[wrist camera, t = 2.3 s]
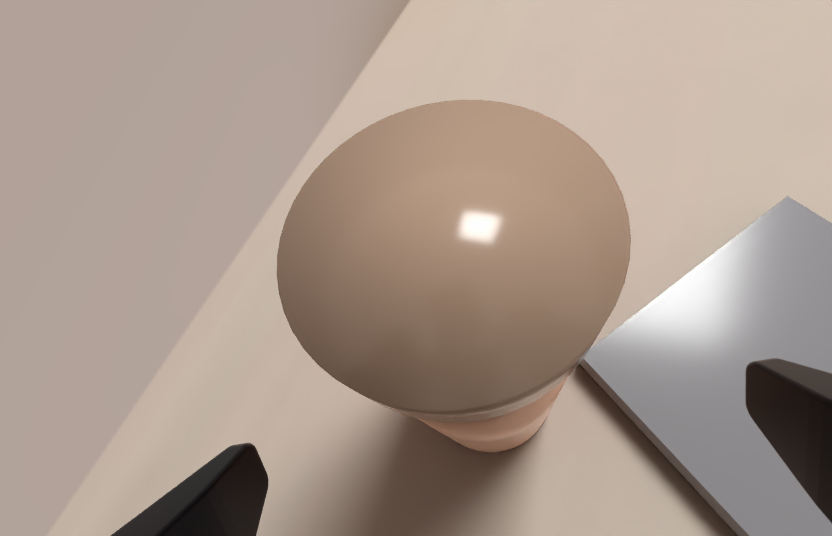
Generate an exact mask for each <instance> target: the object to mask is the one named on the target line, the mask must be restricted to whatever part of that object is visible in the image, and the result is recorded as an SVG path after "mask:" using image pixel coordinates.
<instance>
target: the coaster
mask: <svg viewBox="0 0 832 536" xmlns="http://www.w3.org/2000/svg"><path fill="white" fill-rule="evenodd" d="M770 358H779V359H783V360H787V361H790V362H794V363H797V364H801V365H804V366H808V367H811V368H815V369H818V370H822V371H825V372H829V373H832V223H830V222H829V221H827V220H825V219H824V218H822V217H821V216H819V215H817V214H816V213H814V212H812V211H811V210H809V209H808V208H806V207H804V206H803V205H801V204H800V203H798V202H796V201H795V200H793V199H791V198H790V197H788V196H787V197H786V198H784V199H783V200H782V201H781V202H779V203H778V204H777V205H775V206H774V207H773V208H772V209H770V210H769V211H768V212H766V213H765V214H764V215H762V216H761V217H760V218H759V219H757V220H756V221H755V222H753V223H752V224H751V225H750V226H748V227H747V228H746V229H744V230H743V231H742V232H741V233H739V234H738V235H737V236H735V237H734V238H733V239H732V240H730V241H729V242H728V243H726V244H725V245H724V246H723V247H721V248H720V249H719V250H717V251H716V252H715V253H713V254H712V255H711V256H710V257H708V258H707V259H706V260H704V261H703V262H702V263H701V264H699V265H698V266H697V267H695V268H694V269H693V270H692V271H690V272H689V273H688V274H686V275H685V276H684V277H683V278H681V279H680V280H679V281H677V282H676V283H675V284H674V285H672V286H671V287H670V288H668V289H667V290H666V291H664V292H663V293H662V294H661V295H659V296H658V297H657V298H655V299H654V300H653V301H652V302H650V303H649V304H648V305H646V306H645V307H644V308H643V309H641V310H640V311H639V312H637V313H636V314H635V315H634V316H632V317H631V318H630V319H628V320H627V321H626V322H625V323H623V324H622V325H621V326H619V327H618V328H617V329H615V330H614V331H613V332H612V333H610V334H609V335H608V336H606V337H605V338H604V339H603V340H601V341H600V342H599V343H597V344H596V345H595V346H594V347H592V348H591V349H590V350H589V351H588V353H587V354H586V356H585V357H584V359H583V360H582V361H581V362H580V363H579V364H580V365H581V366H582V367H583V368H584V369H585V370H586V371H587V373H588V374H589V375H590V376H591V377H592V378H593V379H594V380H595V381H596V382H597V383H598V385H599V386H600V387H601V388H602V389H603V390H604V391H605V392H606V393H607V394H608V395H609V396H610V398H611V399H612V400H613V401H614V402H615V403H616V404H617V405H618V406H619V407H620V408H621V409H622V411H623V412H624V413H625V414H626V415H627V416H628V417H629V418H630V419H631V420H632V421H633V422H634V424H635V425H636V426H637V427H638V428H639V429H640V430H641V431H642V432H643V433H644V434H645V436H646V437H647V438H648V439H649V440H650V441H651V442H652V443H653V444H654V445H655V446H656V447H657V449H658V450H659V451H660V452H661V453H662V454H663V455H664V456H665V457H666V458H667V459H668V460H669V462H670V463H671V464H672V465H673V466H674V467H675V468H676V469H677V470H678V471H679V472H680V473H681V475H682V476H683V477H684V478H685V479H686V480H687V481H688V482H689V483H690V484H691V485H692V486H693V488H694V489H695V490H696V491H697V492H698V493H699V494H700V495H701V496H702V497H703V498H704V500H705V501H706V502H707V503H708V504H709V505H710V506H711V507H712V508H713V509H714V510H715V511H716V513H717V514H718V515H719V516H720V517H721V518H722V519H723V520H724V521H725V522H726V523H727V524H728V526H729V527H730V528H731V529H732V530H733V531H734V532H735V533H736V534H737V535H738V536H832V523H831V522H830V521H829V520H828V519H827V517H826V516H825V515H824V514H823V513H822V511H821V510H820V509H819V508H818V507H817V506H816V504H815V503H814V502H813V500H812V499H811V498H810V497H809V495H808V494H807V493H806V491H805V490H804V489H803V487H802V486H801V485H800V483H799V482H798V481H797V479H796V478H795V477H794V475H793V474H792V473H791V471H790V470H789V468H788V467H787V466H786V464H785V463H784V462H783V460H782V459H781V458H780V456H779V455H778V454H777V452H776V451H775V449H774V448H773V447H772V445H771V444H770V443H769V441H768V440H767V439H766V437H765V436H764V435H763V433H762V432H761V431H760V429H759V428H758V426H757V425H756V424H755V422H754V421H753V420H752V418H751V417H750V415H749V413H748V410H747V407H746V402H745V371H746V367H747V365H748V364H749V363H750V362H752V361H757V360H763V359H770Z"/></svg>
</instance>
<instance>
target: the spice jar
mask: <svg viewBox="0 0 832 536" xmlns="http://www.w3.org/2000/svg"><path fill="white" fill-rule="evenodd" d="M630 243H631V235H630V226H629V217H628V212H627V209H626V205H625V202H624V198H623V195H622V193H621V191H620V189H619V186H618V184H617V182H616V180H615V178H614V176H613V174H612V173H611V171H610V170H609V168H608V167H607V165H606V164H605V162H604V161H603V159H602V158H601V157H600V156H599V155H598V154H597V153H596V152H595V151H594V150H593V148H592V147H591V146H590V145H589V144H588V143H586V142H585V141H584V140H583V139H582V138H580V137H579V136H578V135H577V134H576V133H574V132H573V131H571V130H570V129H568V128H567V127H565V126H564V125H562V124H560V123H559V122H557V121H555V120H553V119H551V118H549V117H547V116H545V115H543V114H540V113H538V112H535V111H532V110H529V109H526V108H523V107H520V106H515V105H511V104H506V103H502V102H493V101H485V100H456V101H444V102H438V103H432V104H426V105H422V106H419V107H415V108H411V109H407V110H405V111H402V112H399V113H396V114H394V115H391V116H388V117H386V118H384V119H382V120H380V121H378V122H376V123H374V124H372V125H370V126H368V127H367V128H365V129H363V130H362V131H360V132H358V133H357V134H355V135H354V136H352V137H351V138H350V139H348V140H347V141H345V142H344V143H343V144H341V145H340V146H339V147H338V148H337V149H336V150H334V151H333V152H332V153H331V154H330V155H329V156H328V157H327V158H326V159H325V160H324V161H323V162H322V163H321V164H320V165H319V166H318V167H317V168H316V169H315V171H314V172H313V173H312V174H311V176H310V177H309V178H308V180H307V181H306V183H305V184H304V185H303V187H302V188H301V190H300V192H299V193H298V195H297V197H296V199H295V200H294V202H293V204H292V206H291V209H290V211H289V213H288V216H287V218H286V220H285V224H284V227H283V230H282V234H281V237H280V243H279V249H278V255H277V280H278V289H279V295H280V299H281V302H282V306H283V310H284V313H285V315H286V318H287V320H288V322H289V325H290V327H291V329H292V331H293V333H294V334H295V336H296V337H297V339H298V341H299V342H300V344H301V345H302V347H303V348H304V349H305V351H306V352H307V353H308V354H309V355H310V356H311V357H312V359H313V360H314V361H315V362H316V363H317V364H318V365H319V366H320V367H321V368H323V369H324V370H325V371H326V372H327V373H329V374H330V375H331V376H332V377H333V378H335V379H336V380H338V381H339V382H341V383H343V384H344V385H346V386H348V387H349V388H351V389H353V390H354V391H356V392H358V393H360V394H362V395H364V396H365V397H367V398H369V399H371V400H373V401H375V402H377V403H378V404H380V405H382V406H384V407H386V408H389V409H391V410H394V411H396V412H398V413H401V414H403V415H407V416H410V417H414V418H417V419H419V420H420V421H422V422H424V423H425V424H427V425H429V426H430V427H432V428H434V429H435V430H437V431H439V432H440V433H442V434H444V435H446V436H447V437H449V438H451V439H452V440H454V441H456V442H457V443H459V444H461V445H463V446H465V447H467V448H470V449H473V450H477V451H482V452H500V451H506V450H509V449H512V448H515V447H517V446H519V445H521V444H523V443H524V442H525V441H527V440H528V439H530V438H531V437H532V436H533V435H534V434H535V433H536V432H537V431H538V429H539V428H540V427H541V425H542V424H543V422H544V420H545V419H546V417H547V415H548V413H549V411H550V409H551V407H552V406H553V404H554V402H555V400H556V398H557V396H558V394H559V392H560V391H561V389H562V387H563V385H564V383H565V381H566V379H567V377H568V376H569V375H570V374H571V373H572V372H573V371H574V369H575V368H576V367H577V366H578V365H579V363H580V362H581V361H582V360H583V359H584V357H585V356H586V354H587V353H588V351H589V349H590V348H591V346H592V344H593V343H594V341H595V339H596V338H597V336H598V334H599V333H600V331H601V329H602V327H603V326H604V324H605V322H606V321H607V319H608V317H609V316H610V314H611V312H612V310H613V309H614V307H615V305H616V303H617V300H618V298H619V295H620V293H621V290H622V288H623V285H624V283H625V278H626V274H627V269H628V265H629V260H630Z"/></svg>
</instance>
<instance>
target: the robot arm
mask: <svg viewBox="0 0 832 536" xmlns="http://www.w3.org/2000/svg"><path fill="white" fill-rule="evenodd" d="M745 402H746V407H747V410H748V413H749V415H750V417H751V418H752V420H753V421H754V422H755V424H756V425H757V426H758V428H759V429H760V431H761V432H762V433H763V435H764V436H765V437H766V439H767V440H768V441H769V443H770V444H771V445H772V447H773V448H774V449H775V451H776V452H777V454H778V455H779V456H780V458H781V459H782V460H783V462H784V463H785V464H786V466H787V467H788V468H789V470H790V471H791V473H792V474H793V475H794V477H795V478H796V479H797V481H798V482H799V483H800V485H801V486H802V487H803V489H804V490H805V491H806V493H807V494H808V495H809V497H810V498H811V499H812V500H813V502H814V503H815V504H816V506H817V507H818V508H819V509H820V510H821V511H822V513H823V514H824V515H825V516H826V517H827V519H828V520H829V521H830V522H831V523H832V373H829V372H825V371H822V370H818V369H815V368H811V367H808V366H804V365H801V364H797V363H794V362H790V361H787V360H783V359H779V358H770V359H763V360H757V361H752V362H750V363H749V364H748V365H747V367H746V371H745ZM267 490H268V476H267V473H266V470H265V468H264V466H263V463H262V461H261V459H260V457H259V454H258V452H257V450H256V448H255V446H254V445H253V444H251V443H244V444H238V445H232V446H230V447H228V448H227V449H225V450H224V451H223V452H221V453H220V454H219V455H217V456H216V457H215V458H213V459H212V460H211V461H209V462H208V463H207V464H205V465H204V466H203V467H201V468H200V469H199V470H197V471H196V472H195V473H193V474H192V475H191V476H190V477H188V478H187V479H186V480H184V481H183V482H182V483H180V484H179V485H178V486H176V487H175V488H174V489H172V490H171V491H170V492H168V493H167V494H166V495H164V496H163V497H162V498H160V499H159V500H158V501H156V502H155V503H154V504H152V505H151V506H150V507H148V508H147V509H146V510H144V511H143V512H142V513H140V514H139V515H138V516H136V517H135V518H134V519H132V520H131V521H130V522H128V523H127V524H126V525H124V526H123V527H122V528H120V529H119V530H118V531H116V532H115V533H114V534H112V535H111V536H256V533H257V529H258V525H259V521H260V517H261V514H262V510H263V506H264V502H265V498H266V494H267Z"/></svg>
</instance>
